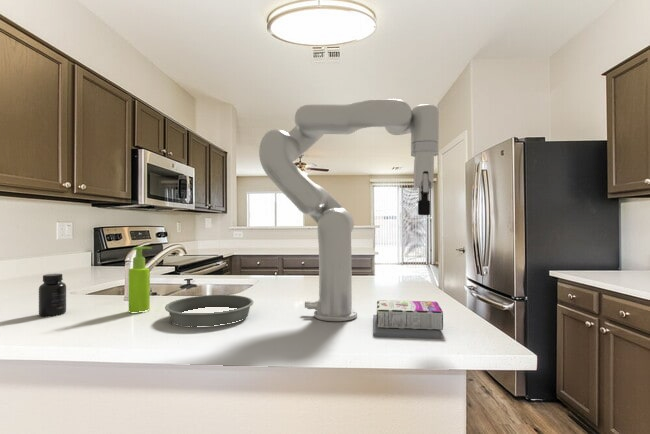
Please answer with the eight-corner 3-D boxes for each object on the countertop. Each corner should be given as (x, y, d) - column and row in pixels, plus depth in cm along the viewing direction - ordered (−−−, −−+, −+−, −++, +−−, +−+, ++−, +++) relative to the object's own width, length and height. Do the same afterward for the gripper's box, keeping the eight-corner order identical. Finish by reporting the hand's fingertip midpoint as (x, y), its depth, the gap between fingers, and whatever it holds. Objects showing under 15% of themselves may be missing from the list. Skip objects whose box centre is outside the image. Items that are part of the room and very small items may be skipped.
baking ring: (144, 326, 103) (144, 309, 103) (198, 306, 127) (198, 292, 127) (226, 333, 97) (226, 315, 97) (267, 311, 120) (267, 296, 120)
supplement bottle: (33, 315, 114) (33, 275, 114) (56, 310, 120) (56, 272, 121) (48, 318, 112) (48, 276, 112) (71, 312, 118) (71, 273, 118)
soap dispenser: (156, 309, 121) (156, 246, 121) (135, 314, 115) (135, 247, 116) (145, 307, 124) (145, 245, 125) (124, 311, 119) (124, 247, 119)
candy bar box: (437, 319, 106) (377, 316, 108) (437, 301, 106) (377, 298, 108) (443, 331, 95) (376, 328, 97) (443, 311, 94) (376, 308, 97)
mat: (373, 336, 93) (373, 332, 93) (373, 317, 111) (373, 314, 111) (441, 338, 91) (441, 335, 91) (430, 319, 109) (430, 316, 109)
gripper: (409, 154, 117) (409, 215, 117) (412, 145, 102) (411, 214, 102) (435, 154, 115) (435, 215, 115) (441, 144, 101) (440, 214, 101)
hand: (423, 214), depth 109 cm, fingers closed
